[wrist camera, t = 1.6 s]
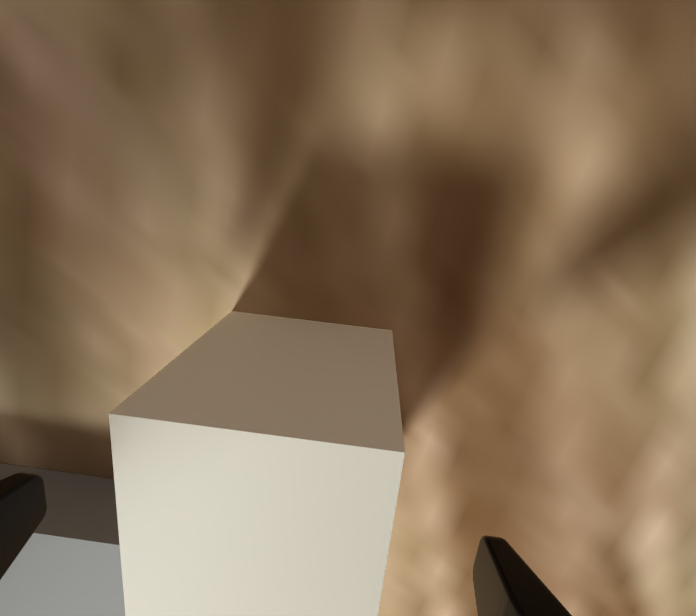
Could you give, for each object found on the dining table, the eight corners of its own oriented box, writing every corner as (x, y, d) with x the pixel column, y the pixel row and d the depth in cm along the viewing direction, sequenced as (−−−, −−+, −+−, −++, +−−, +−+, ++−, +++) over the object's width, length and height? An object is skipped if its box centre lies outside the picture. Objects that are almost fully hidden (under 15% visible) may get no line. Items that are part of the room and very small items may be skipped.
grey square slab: (185, 677, 18) (150, 769, 15) (-45, 642, 19) (-123, 725, 16) (181, 478, 15) (134, 547, 12) (-98, 440, 15) (-208, 498, 12)
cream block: (372, 465, 14) (369, 664, 8) (230, 446, 14) (126, 627, 8) (391, 329, 12) (404, 452, 7) (232, 310, 12) (108, 413, 7)
